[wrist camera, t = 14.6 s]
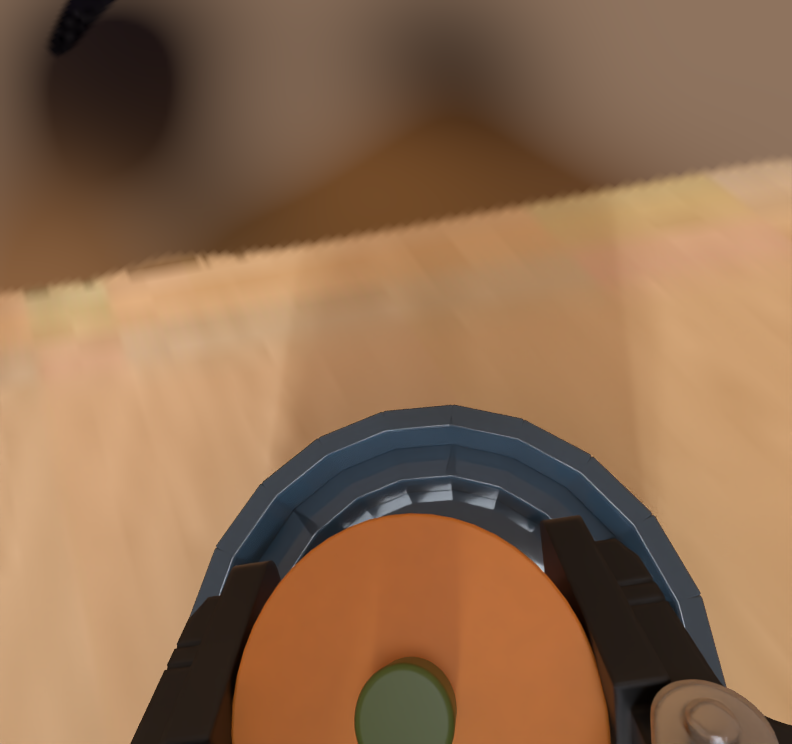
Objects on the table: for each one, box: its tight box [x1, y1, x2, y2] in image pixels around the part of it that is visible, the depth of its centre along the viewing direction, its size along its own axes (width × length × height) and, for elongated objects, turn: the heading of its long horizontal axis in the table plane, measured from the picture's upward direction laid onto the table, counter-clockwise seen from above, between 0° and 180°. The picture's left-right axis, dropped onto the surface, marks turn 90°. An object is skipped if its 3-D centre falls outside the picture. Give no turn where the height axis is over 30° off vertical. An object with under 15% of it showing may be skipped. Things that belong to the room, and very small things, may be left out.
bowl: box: [189, 405, 726, 687], centre depth 18 cm, size 16×16×5 cm
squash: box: [231, 513, 611, 744], centre depth 10 cm, size 5×5×8 cm
